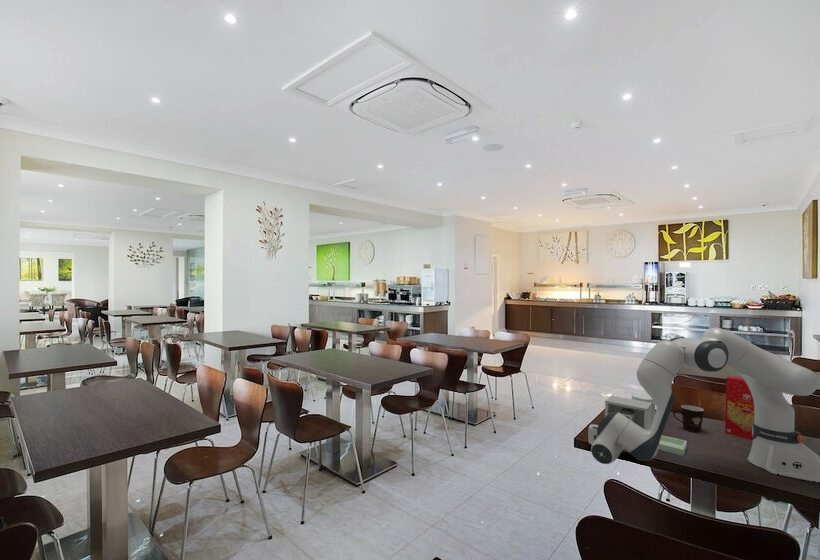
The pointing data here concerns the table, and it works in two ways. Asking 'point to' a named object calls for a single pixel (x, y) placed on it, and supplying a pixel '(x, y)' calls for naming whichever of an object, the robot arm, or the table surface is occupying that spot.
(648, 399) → the white rounded slab
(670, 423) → the table surface
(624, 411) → the white and grey box
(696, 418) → the coffee mug
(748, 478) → the table surface
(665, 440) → the tray
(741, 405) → the food packaging
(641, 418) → the bay
